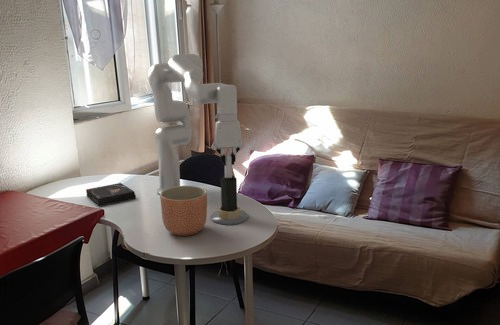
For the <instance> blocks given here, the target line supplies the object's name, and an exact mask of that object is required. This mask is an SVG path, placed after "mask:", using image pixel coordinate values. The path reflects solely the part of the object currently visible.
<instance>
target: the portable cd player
mask: <svg viewBox="0 0 500 325" xmlns="http://www.w3.org/2000/svg"><path fill="white" fill-rule="evenodd" d="M85 192H86V197H87V198H88V199H89V200H90V201H91V202H93V203H94V204H95V205H96V206H97V207H103V206H107V205H111V204H117V203H122V202H125V201H130V200H131V201H132V200H135V199H136V197H137V196H136V192H135V191H134V190H133V189H131V188H130V187H128V186H126V185H124V184H123V183H122V182H117V183H114V184H113V183H112V184H108V185H102V186H97V187H91V188H87V189H86V190H85Z"/></svg>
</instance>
